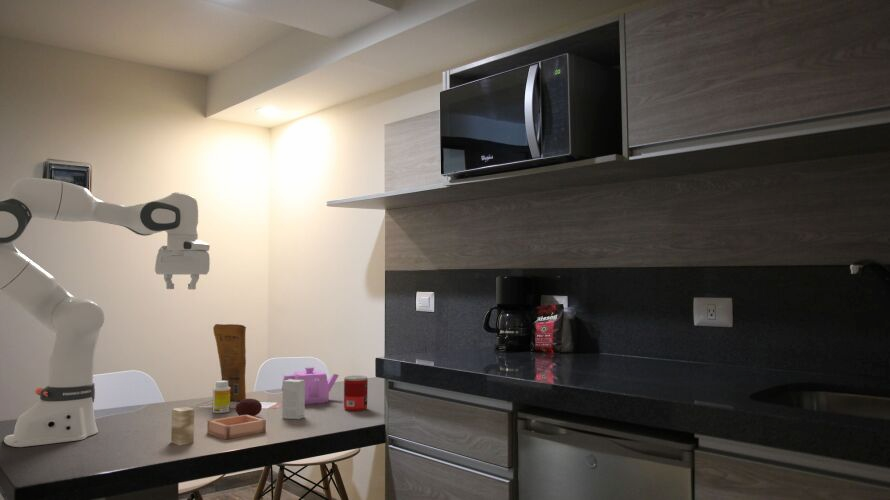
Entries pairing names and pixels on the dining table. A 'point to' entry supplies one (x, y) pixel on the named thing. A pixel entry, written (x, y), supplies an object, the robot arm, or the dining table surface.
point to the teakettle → (314, 384)
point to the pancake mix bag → (232, 357)
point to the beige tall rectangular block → (182, 426)
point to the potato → (248, 407)
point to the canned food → (355, 393)
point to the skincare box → (293, 399)
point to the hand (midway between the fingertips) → (180, 289)
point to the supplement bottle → (221, 397)
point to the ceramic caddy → (236, 426)
